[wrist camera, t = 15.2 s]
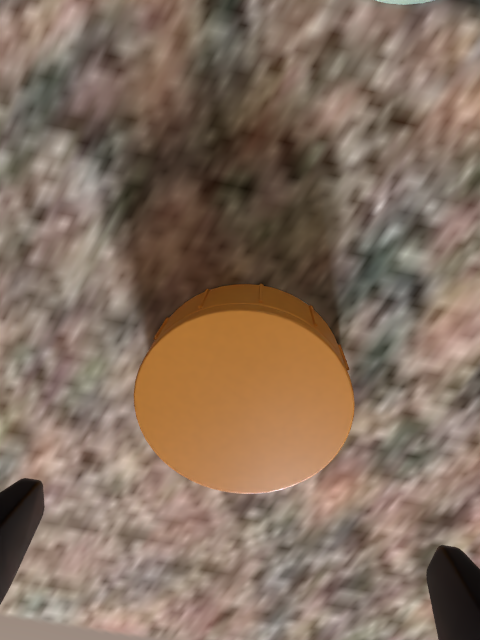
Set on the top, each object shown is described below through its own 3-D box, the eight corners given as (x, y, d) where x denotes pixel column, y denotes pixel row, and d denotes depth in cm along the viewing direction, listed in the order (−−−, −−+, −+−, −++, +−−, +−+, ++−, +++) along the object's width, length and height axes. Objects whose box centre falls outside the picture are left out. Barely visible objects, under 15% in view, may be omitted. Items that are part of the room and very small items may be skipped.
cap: (289, 471, 17) (293, 520, 14) (130, 409, 16) (108, 450, 14) (378, 331, 14) (399, 365, 12) (191, 250, 13) (175, 270, 11)
